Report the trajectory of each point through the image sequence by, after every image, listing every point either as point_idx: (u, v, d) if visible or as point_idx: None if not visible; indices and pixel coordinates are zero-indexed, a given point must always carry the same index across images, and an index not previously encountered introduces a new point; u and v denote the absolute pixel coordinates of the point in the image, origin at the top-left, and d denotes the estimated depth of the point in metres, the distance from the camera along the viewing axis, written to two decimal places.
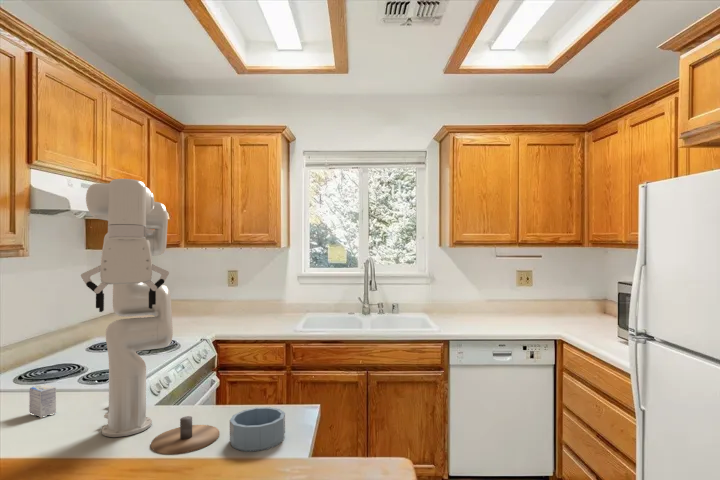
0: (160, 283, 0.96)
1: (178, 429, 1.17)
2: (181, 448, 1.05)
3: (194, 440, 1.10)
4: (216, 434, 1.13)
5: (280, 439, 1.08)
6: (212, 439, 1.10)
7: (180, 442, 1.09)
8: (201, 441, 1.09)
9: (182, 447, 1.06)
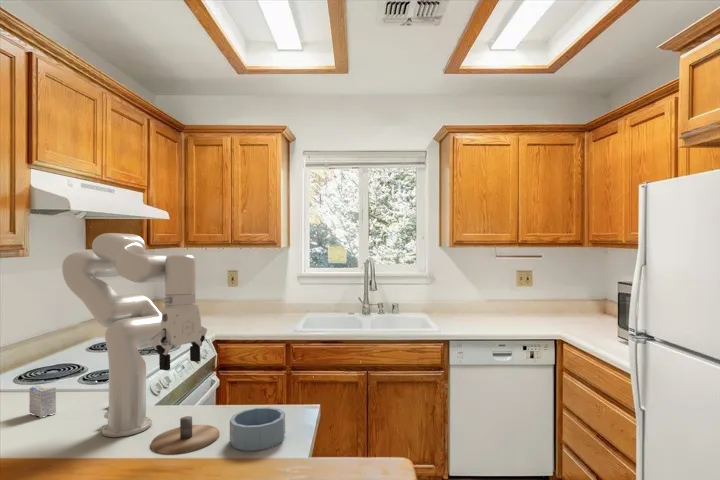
0: None
1: (178, 429, 1.17)
2: (181, 448, 1.05)
3: (194, 440, 1.10)
4: (216, 434, 1.13)
5: (280, 439, 1.08)
6: (212, 439, 1.10)
7: (180, 442, 1.09)
8: (201, 441, 1.09)
9: (182, 447, 1.06)
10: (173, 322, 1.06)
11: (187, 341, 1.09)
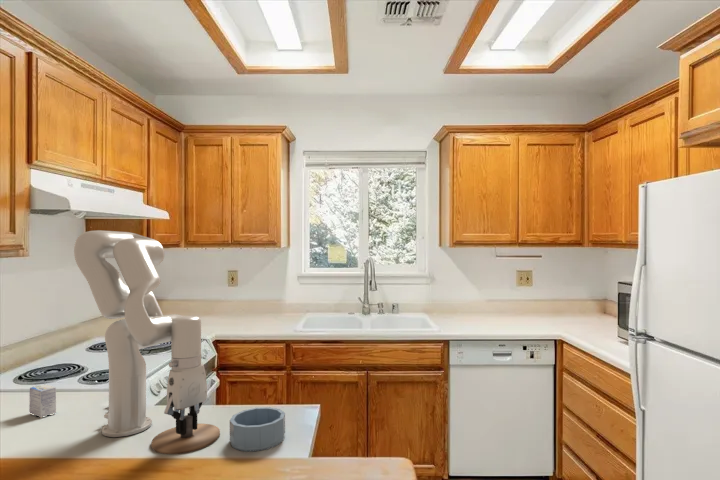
0: None
1: None
2: (182, 447, 1.05)
3: (194, 439, 1.10)
4: (216, 433, 1.13)
5: (280, 439, 1.08)
6: (213, 438, 1.10)
7: (180, 441, 1.09)
8: (201, 439, 1.09)
9: (183, 446, 1.06)
10: (179, 387, 1.08)
11: (193, 403, 1.11)
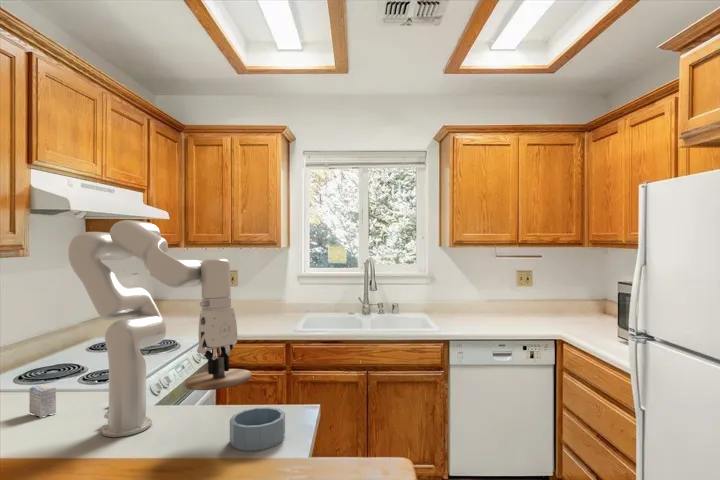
0: None
1: None
2: (216, 384, 1.05)
3: (227, 378, 1.10)
4: (248, 374, 1.13)
5: (280, 439, 1.08)
6: (245, 377, 1.10)
7: (213, 380, 1.09)
8: (234, 378, 1.09)
9: (216, 383, 1.06)
10: (211, 325, 1.08)
11: (225, 343, 1.11)
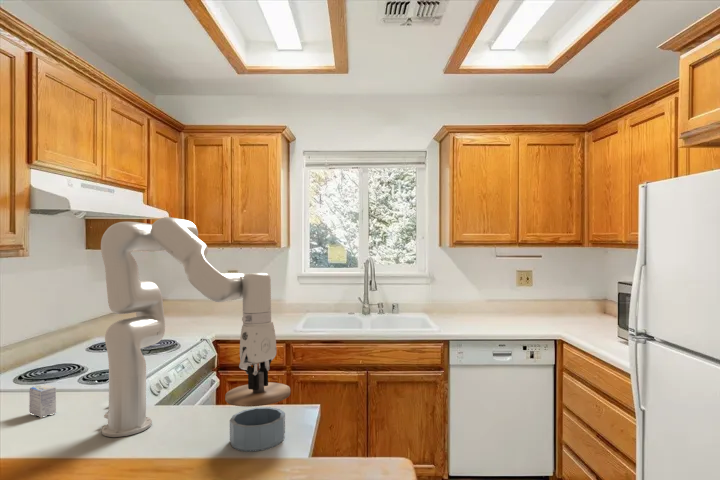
0: None
1: (247, 386, 1.17)
2: (258, 400, 1.04)
3: (268, 394, 1.09)
4: (287, 389, 1.13)
5: (280, 439, 1.08)
6: (285, 393, 1.10)
7: (254, 395, 1.08)
8: (275, 394, 1.09)
9: (259, 399, 1.05)
10: (253, 341, 1.07)
11: (265, 359, 1.10)
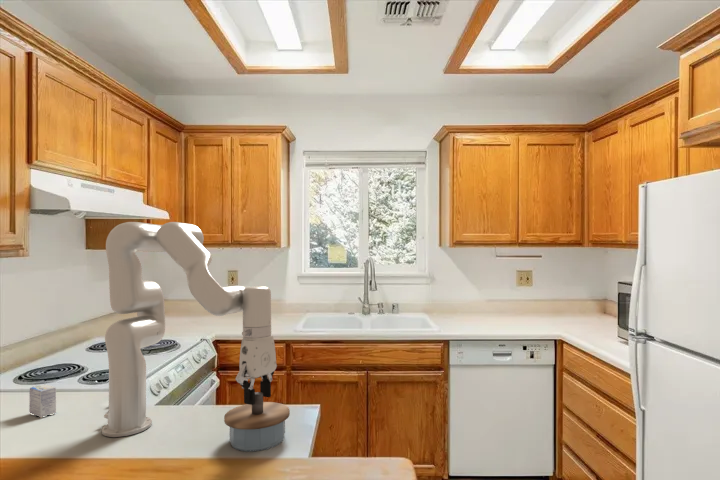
0: None
1: (246, 406, 1.17)
2: (257, 422, 1.04)
3: (267, 415, 1.09)
4: (287, 410, 1.13)
5: (280, 439, 1.08)
6: (285, 414, 1.09)
7: (253, 417, 1.08)
8: (274, 416, 1.08)
9: (258, 421, 1.05)
10: (253, 355, 1.07)
11: (265, 373, 1.10)
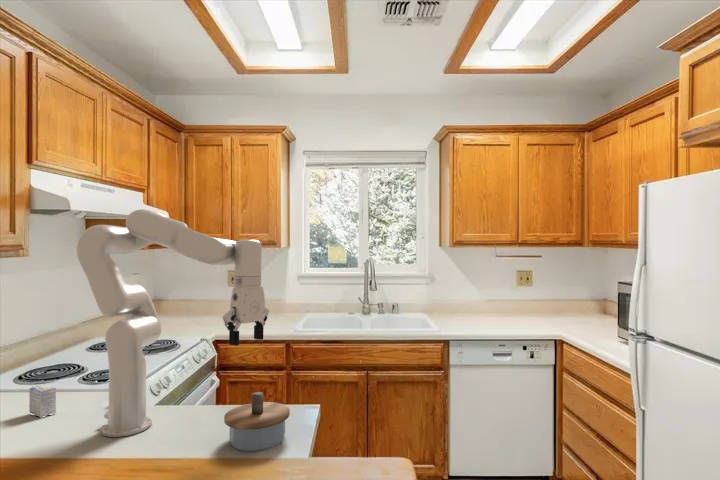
0: None
1: (246, 406, 1.17)
2: (257, 422, 1.04)
3: (267, 415, 1.09)
4: (287, 410, 1.13)
5: (280, 439, 1.08)
6: (285, 414, 1.09)
7: (253, 417, 1.08)
8: (274, 416, 1.08)
9: (258, 421, 1.05)
10: (242, 301, 1.15)
11: (254, 320, 1.18)
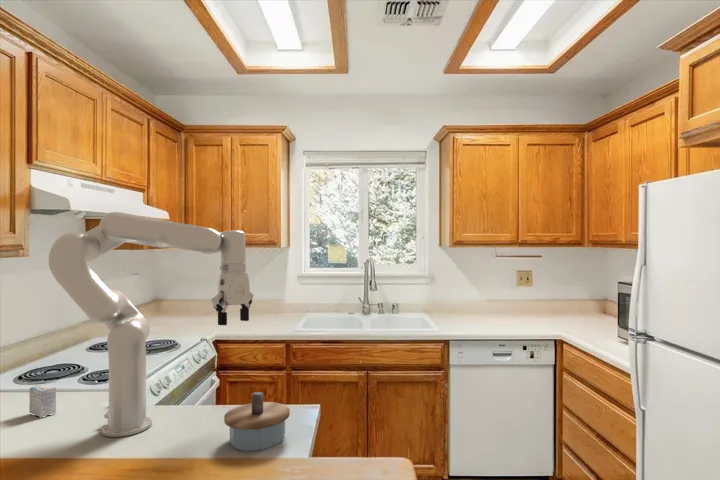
0: None
1: (246, 406, 1.17)
2: (257, 422, 1.04)
3: (267, 415, 1.09)
4: (287, 410, 1.13)
5: (280, 439, 1.08)
6: (285, 414, 1.09)
7: (253, 417, 1.08)
8: (274, 416, 1.08)
9: (258, 421, 1.05)
10: (229, 286, 1.28)
11: (239, 302, 1.31)
